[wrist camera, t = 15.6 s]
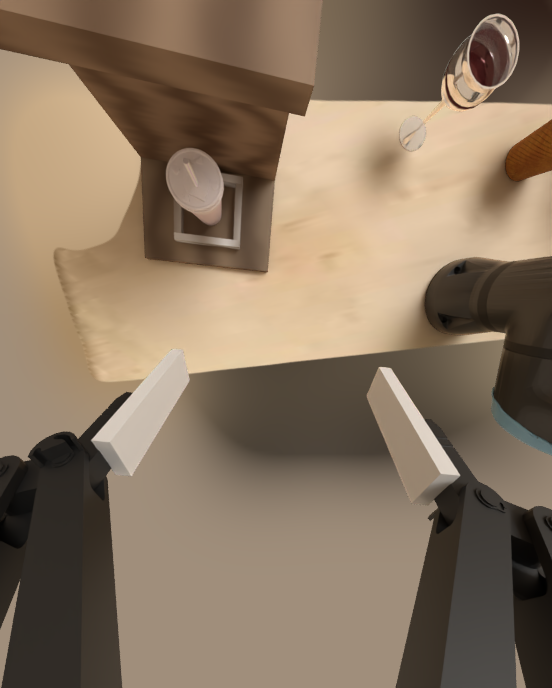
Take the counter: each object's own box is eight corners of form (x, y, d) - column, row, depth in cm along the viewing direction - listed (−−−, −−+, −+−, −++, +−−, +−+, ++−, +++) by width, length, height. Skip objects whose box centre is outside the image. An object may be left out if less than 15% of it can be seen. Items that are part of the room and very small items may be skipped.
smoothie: (201, 240, 34) (169, 203, 20) (181, 199, 32) (132, 128, 19) (236, 225, 34) (228, 178, 20) (218, 183, 32) (197, 101, 19)
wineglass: (432, 108, 35) (524, 13, 23) (429, 156, 36) (514, 89, 25) (394, 109, 34) (470, 12, 22) (393, 158, 36) (463, 90, 24)
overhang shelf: (275, 169, 34) (338, -154, 10) (267, 271, 37) (299, 223, 13) (143, 146, 31) (-237, -395, 7) (148, 258, 34) (-96, 166, 10)
